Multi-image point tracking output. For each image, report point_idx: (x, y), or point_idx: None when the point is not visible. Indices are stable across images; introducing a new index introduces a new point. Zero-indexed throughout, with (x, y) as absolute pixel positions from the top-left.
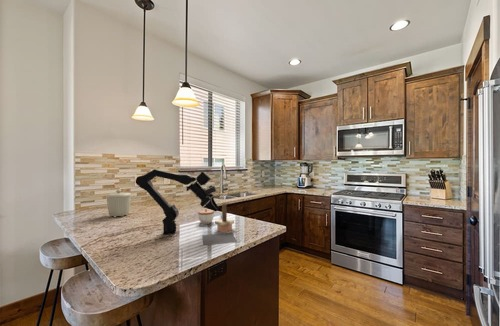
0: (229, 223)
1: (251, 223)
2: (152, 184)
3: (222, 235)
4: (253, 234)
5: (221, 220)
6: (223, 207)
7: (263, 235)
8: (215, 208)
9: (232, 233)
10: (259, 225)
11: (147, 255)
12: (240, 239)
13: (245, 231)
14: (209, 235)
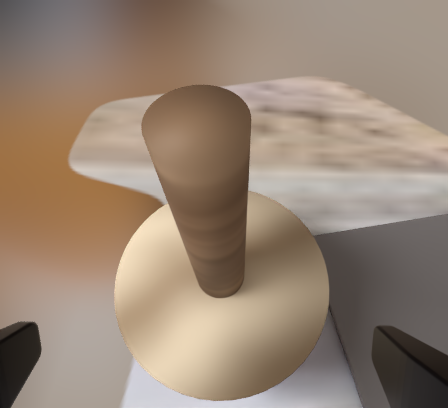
0: (302, 225)
1: (97, 129)
2: None
3: (388, 309)
4: (324, 129)
5: (185, 309)
6: (247, 193)
7: (338, 93)
8: (443, 360)
9: (329, 235)
10: (155, 97)
11: None
12: (429, 191)
13: (266, 163)
14: None
